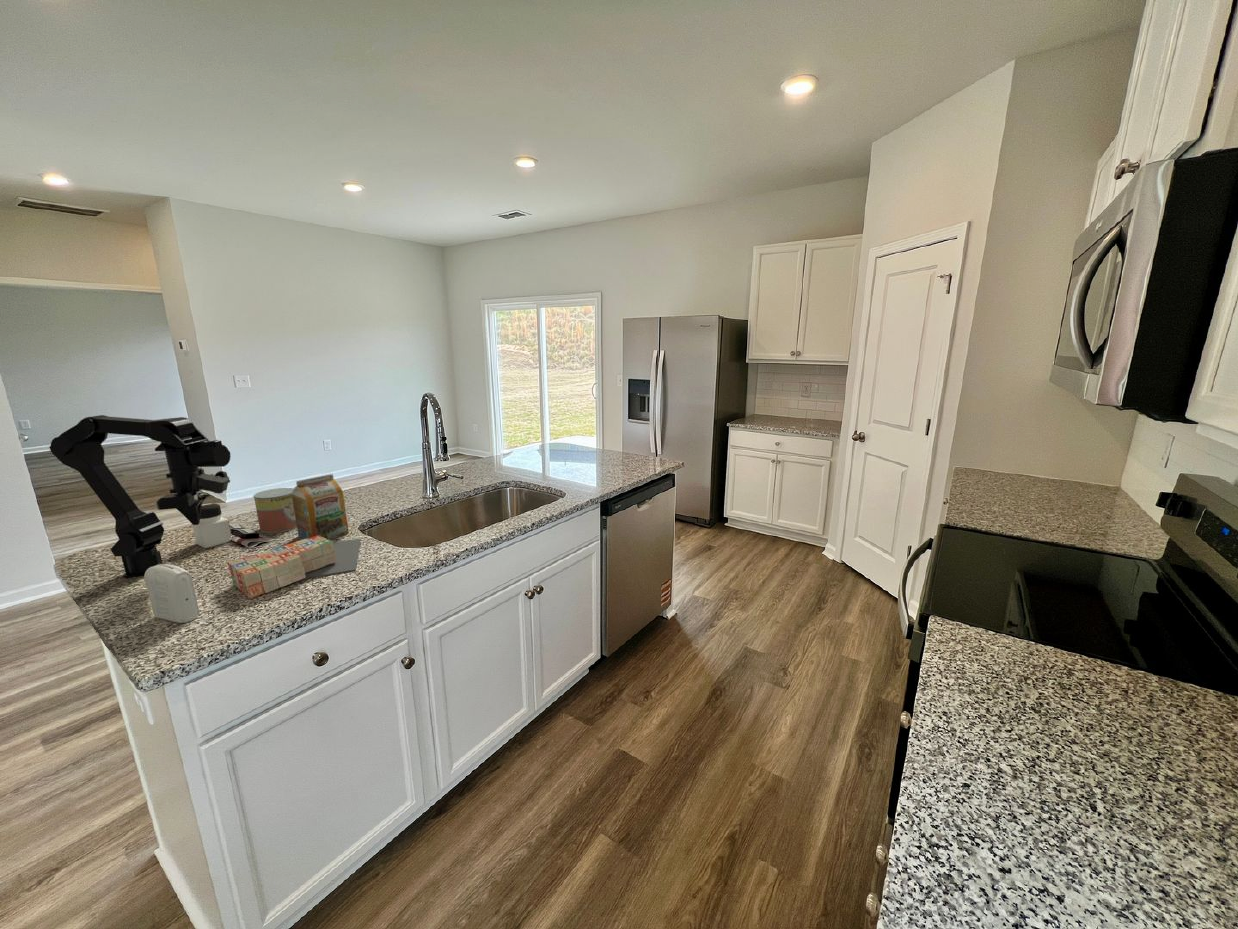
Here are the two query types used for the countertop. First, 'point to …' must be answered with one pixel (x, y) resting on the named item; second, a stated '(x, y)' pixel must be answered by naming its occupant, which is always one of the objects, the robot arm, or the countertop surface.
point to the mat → (339, 559)
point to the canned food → (275, 510)
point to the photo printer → (171, 593)
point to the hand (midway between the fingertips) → (196, 524)
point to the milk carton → (319, 508)
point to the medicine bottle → (212, 527)
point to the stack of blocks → (281, 565)
